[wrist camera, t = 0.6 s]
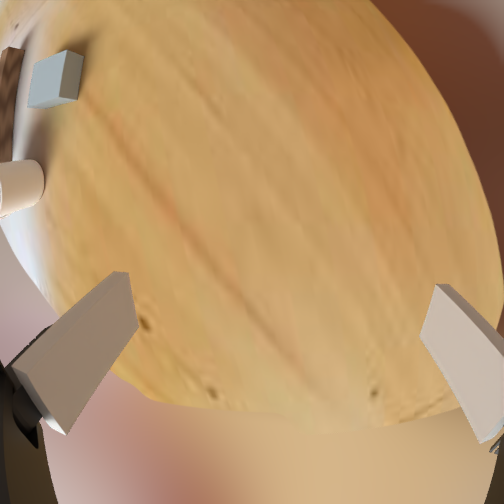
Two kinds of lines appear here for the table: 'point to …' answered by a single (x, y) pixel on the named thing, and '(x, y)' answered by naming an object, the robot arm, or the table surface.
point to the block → (55, 80)
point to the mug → (19, 185)
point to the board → (8, 98)
